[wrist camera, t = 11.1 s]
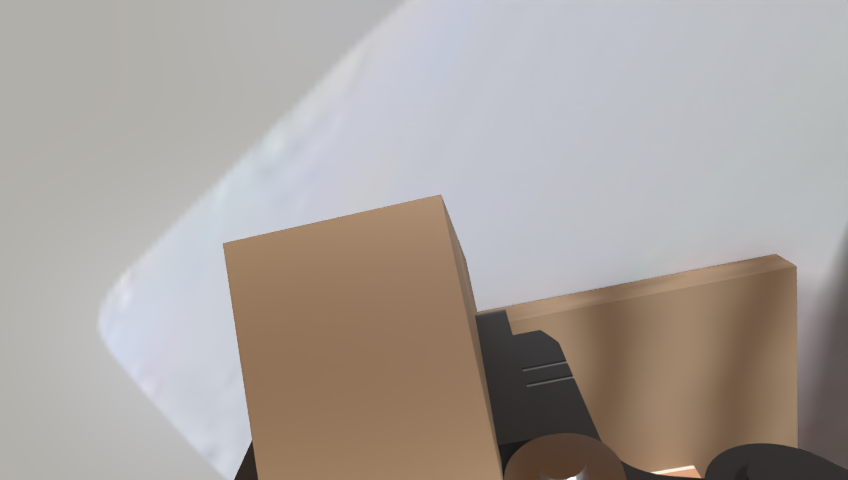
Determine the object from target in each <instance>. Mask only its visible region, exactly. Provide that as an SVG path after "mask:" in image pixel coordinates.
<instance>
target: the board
mask: <svg viewBox="0 0 848 480" xmlns="http://www.w3.org/2000/svg"><path fill="white" fill-rule="evenodd" d="M503 309H505V310H506V313H507V317H508V320H509V324H510V327H511V331H512V334H513V335H516V334H521V333H526V332H531V331H536V330H542V331H543V332H545V333H546V334H548V335H549V336H550V337H552V338H553V339H555V340H556V341H558V342H559V344H560V346H561V349H562V351H563V353H564V356H565V358H566V361H567V363H568V365H569V367H570V370H571V372H572V374H573V378H574V379H575V381H576V383H577V386H578V388H579V390H580V393H581V395H582V397H583V400H584V402H585V404H586V407H587V409H588V411H589V414H590V416H591V418H592V421H593V423H594V425H595V427H596V430H597V432H598V434H599V437H600V439H601V441H602V442H603V443H604V444H605V445H607V446H608V447H610V448H611V449H612V450H613V451H614V452H615V453H616V455H617V456H618V458H619V459H620V460H621V461H623V462H624V463H626V464H628V465H630V466H632V467H634V468H637V469H640V470H643V471H646V472H656V471H662V470H668V469H674V468H680V467H686V466H693V465H694V467H695V468H696V470H697V472H698V473H699V475H700V476H701V478H705V473H706V470H707V467H708V466H709V464H710V463H711V461H712V460H713V459H714V458H715V457H716V456H718V455H719V454H720V453H722V452H724V451H726V450H728V449H730V448H733V447H736V446H740V445H745V444H754V443H771V444H779V445H785V446H790V447H794V448H798V391H797V271H796V266H795V265H794V264H792V263H790V262H789V261H787V260H785V259H783V258H782V257H780V256H778V255H777V254H774V255H769V256H764V257H759V258H753V259H748V260H743V261H738V262H733V263H728V264H723V265H717V266H712V267H707V268H702V269H697V270H692V271H687V272H682V273H676V274H671V275H666V276H661V277H656V278H651V279H646V280H640V281H635V282H630V283H625V284H620V285H615V286H610V287H605V288H599V289H594V290H589V291H584V292H579V293H574V294H569V295H563V296H558V297H553V298H548V299H543V300H538V301H533V302H528V303H522V304H517V305H512V306H507V307H502V308H497V309H492V310H486V311H481V312H477V314H478V315H479V314H484V313H489V312H493V311H498V310H503Z"/></svg>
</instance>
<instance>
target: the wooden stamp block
mask: <svg viewBox="0 0 848 480" xmlns="http://www.w3.org/2000/svg"><path fill="white" fill-rule="evenodd" d="M223 248H224V254H225V261H226V268H227V274H228V281H229V288H230V294H231V301H232V308H233V314H234V321H235V328H236V334H237V341H238V348H239V354H240V361H241V368H242V374H243V381H244V388H245V395H246V401H247V408H248V415H249V421H250V428H251V435H252V441H253V448H254V455H255V461H256V468H257V475H258V480H503V472H502V463H501V457H500V453H499V449H498V444H497V438H496V433H495V427H494V421H493V416H492V410H491V404H490V398H489V393H488V387H487V381H486V375H485V370H484V364H483V358H482V352H481V347H480V341H479V335H478V330H477V324H476V318H475V315H478V314H477V309H476V305H475V300H474V296H473V291H472V286H471V282H470V277H469V272H468V268H467V263H466V259H465V256H464V254H463V251H462V248H461V246H460V243H459V240H458V238H457V235H456V233H455V230H454V227H453V225H452V222H451V220H450V217H449V214H448V212H447V209H446V206H445V204H444V201H443V199H442V196H441V194H440V195H436V196H432V197H427V198H423V199H418V200H414V201H409V202H405V203H400V204H396V205H392V206H387V207H383V208H378V209H374V210H369V211H365V212H360V213H356V214H352V215H347V216H343V217H338V218H334V219H329V220H325V221H320V222H316V223H312V224H307V225H303V226H298V227H294V228H289V229H285V230H280V231H276V232H272V233H267V234H263V235H258V236H254V237H249V238H245V239H240V240H236V241H232V242H227V243H223Z"/></svg>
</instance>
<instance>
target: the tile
mask: <svg viewBox="0 0 848 480" xmlns="http://www.w3.org/2000/svg"><path fill="white" fill-rule="evenodd" d="M650 473H654V474H660V475H667V476H679V477H692V478H701V476H700V475H699V473H698V472H697V470H696V468H695V467H694V465H693V466H686V467H680V468H674V469H668V470H662V471H656V472H650Z"/></svg>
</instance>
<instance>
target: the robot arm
mask: <svg viewBox="0 0 848 480" xmlns="http://www.w3.org/2000/svg"><path fill="white" fill-rule="evenodd" d="M475 318H476V324H477V330H478V335H479V341H480V347H481V352H482V358H483V364H484V370H485V375H486V381H487V387H488V393H489V398H490V404H491V410H492V416H493V421H494V427H495V433H496V438H497V444H498V449H499V453H500V457H501V463H502V472H503V480H848V470H846V469H844V468H842V467H840V466H838V465H836V464H834V463H831V462H829V461H827V460H825V459H823V458H821V457H819V456H817V455H815V454H812V453H810V452H807V451H804V450H801V449H798V448H794V447H790V446H785V445H779V444H771V443H754V444H745V445H740V446H736V447H733V448H730V449H728V450H726V451H724V452H722V453H720V454H719V455H718V456H716V457H715V458H714V459H713V460H712V461H711V463H710V464H709V466H708V467H707V470H706V473H705V478H692V477H679V476H667V475H660V474H654V473H650V472H646V471H643V470H640V469H637V468H634V467H632V466H630V465H628V464H626V463H624V462H623V461H621V460H620V459H619V458H618V456H617V455H616V453H615V452H614V451H613V450H612V449H611V448H610V447H608V446H607V445H605V444H604V443H603V442H602V441H601V439H600V437H599V434H598V432H597V430H596V427H595V425H594V423H593V421H592V418H591V416H590V414H589V411H588V409H587V407H586V404H585V402H584V400H583V397H582V395H581V393H580V390H579V388H578V386H577V383H576V381H575V379H574V378H573V374H572V372H571V370H570V367H569V365H568V363H567V361H566V358H565V356H564V353H563V351H562V349H561V346H560V344H559V342H558V341H556V340H555V339H553V338H552V337H550V336H549V335H548V334H546V333H545V332H543V331H542V330H536V331H531V332H526V333H521V334H516V335H513V334H512V331H511V327H510V324H509V320H508V317H507V313H506V310H505V309H503V310H498V311H493V312H489V313H484V314H479V315H475ZM234 480H258V475H257V468H256V461H255V455H254V448H253V441H252V442H251V444H250V446H249V448H248V451H247V453H246V455H245V457H244V459H243V461H242V464H241V466H240V468H239V470H238V472H237V475H236V477H235V479H234Z"/></svg>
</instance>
